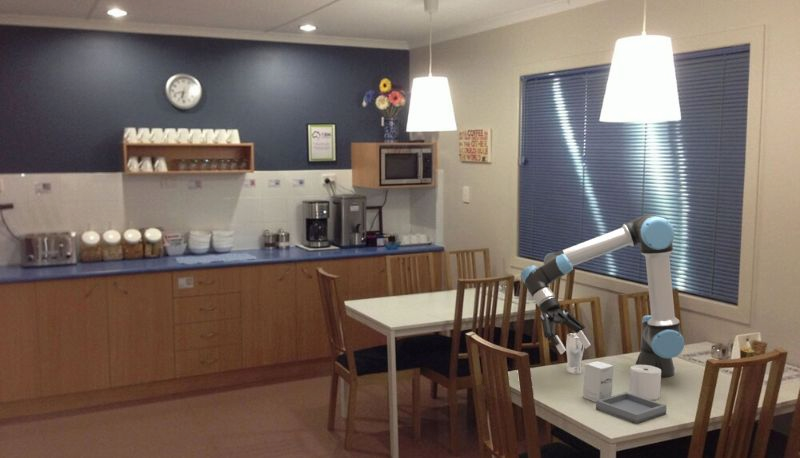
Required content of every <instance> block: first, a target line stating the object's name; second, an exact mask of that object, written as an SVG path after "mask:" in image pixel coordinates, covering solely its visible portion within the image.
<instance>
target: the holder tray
mask: <svg viewBox="0 0 800 458" xmlns="http://www.w3.org/2000/svg"><path fill="white" fill-rule="evenodd" d="M595 410H597V411H600V412H603V413H606V414H608V415H611V416H613V417H616V418H619V419H622V420H624V421H627V422H630V423H632V424H636V425H638V424H640V423H644V422H646V421H649V420H653V419H656V418H658V417H660V416H661V417H662V416H664V415H667V404H665V403H664V404H663V403H661V402H658V401H655V400H649V399H646V398H643V397H640V396H637V395H634V394H631V393H629V392H627V391H625V392H621V393H617V394H615V395H612V396H611V397H607V398H604V399H600V400H597V401H596V402H595Z"/></svg>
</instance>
